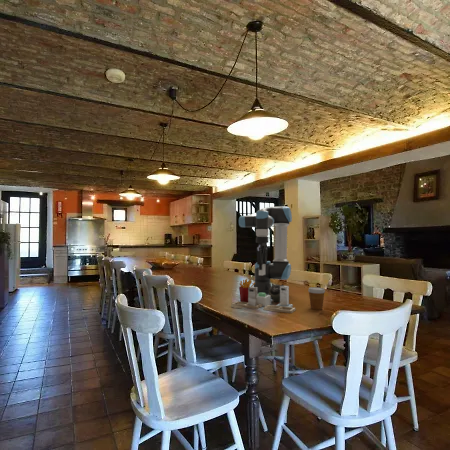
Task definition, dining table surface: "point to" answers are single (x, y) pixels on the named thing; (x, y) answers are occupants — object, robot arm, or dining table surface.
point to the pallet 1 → (249, 300)
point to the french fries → (244, 290)
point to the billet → (284, 295)
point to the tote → (286, 306)
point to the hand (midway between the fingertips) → (262, 274)
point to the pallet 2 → (279, 308)
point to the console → (264, 300)
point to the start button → (262, 294)
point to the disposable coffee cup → (316, 297)
